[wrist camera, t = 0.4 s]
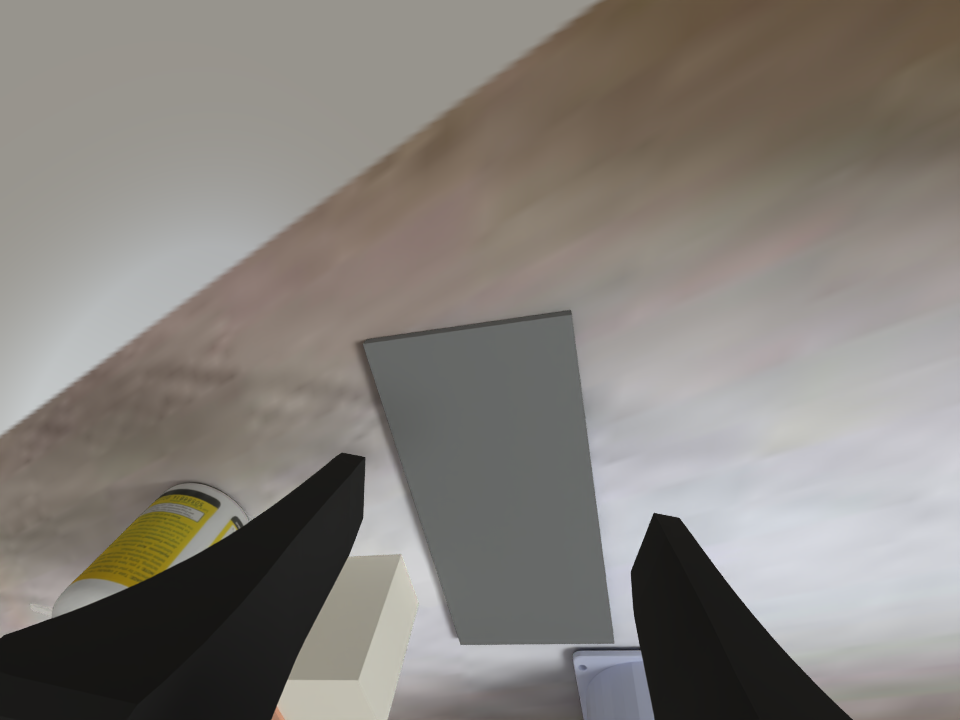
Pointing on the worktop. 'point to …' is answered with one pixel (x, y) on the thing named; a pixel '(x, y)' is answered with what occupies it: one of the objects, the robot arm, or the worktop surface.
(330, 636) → the card box
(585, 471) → the rubber mat
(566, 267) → the worktop surface
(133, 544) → the supplement bottle
